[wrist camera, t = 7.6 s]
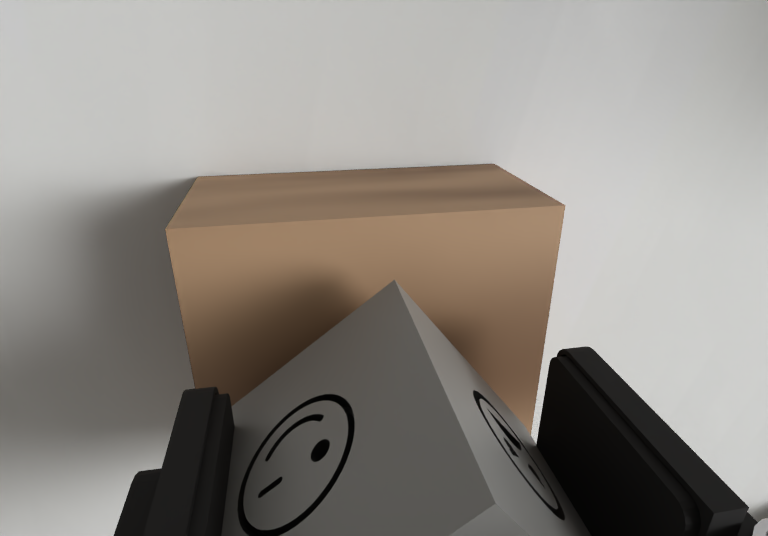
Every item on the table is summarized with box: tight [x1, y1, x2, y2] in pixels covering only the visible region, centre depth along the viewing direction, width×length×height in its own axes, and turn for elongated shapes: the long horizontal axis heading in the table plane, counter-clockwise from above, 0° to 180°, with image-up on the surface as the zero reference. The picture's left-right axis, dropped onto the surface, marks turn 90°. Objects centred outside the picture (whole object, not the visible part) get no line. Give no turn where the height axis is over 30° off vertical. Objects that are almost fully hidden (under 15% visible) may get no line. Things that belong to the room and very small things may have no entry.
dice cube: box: [221, 279, 591, 536], centre depth 9 cm, size 5×5×5 cm
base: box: [165, 164, 565, 435], centre depth 13 cm, size 8×8×4 cm
